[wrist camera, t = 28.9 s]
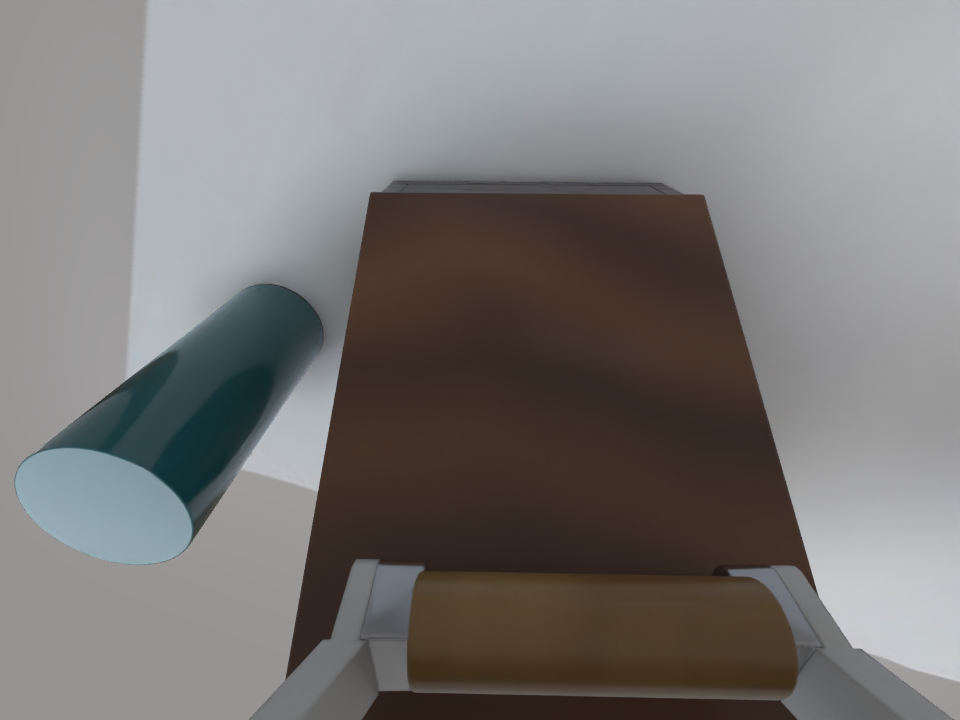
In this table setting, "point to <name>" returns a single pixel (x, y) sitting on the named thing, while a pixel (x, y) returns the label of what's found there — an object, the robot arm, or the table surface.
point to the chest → (529, 187)
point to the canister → (172, 433)
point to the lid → (556, 463)
